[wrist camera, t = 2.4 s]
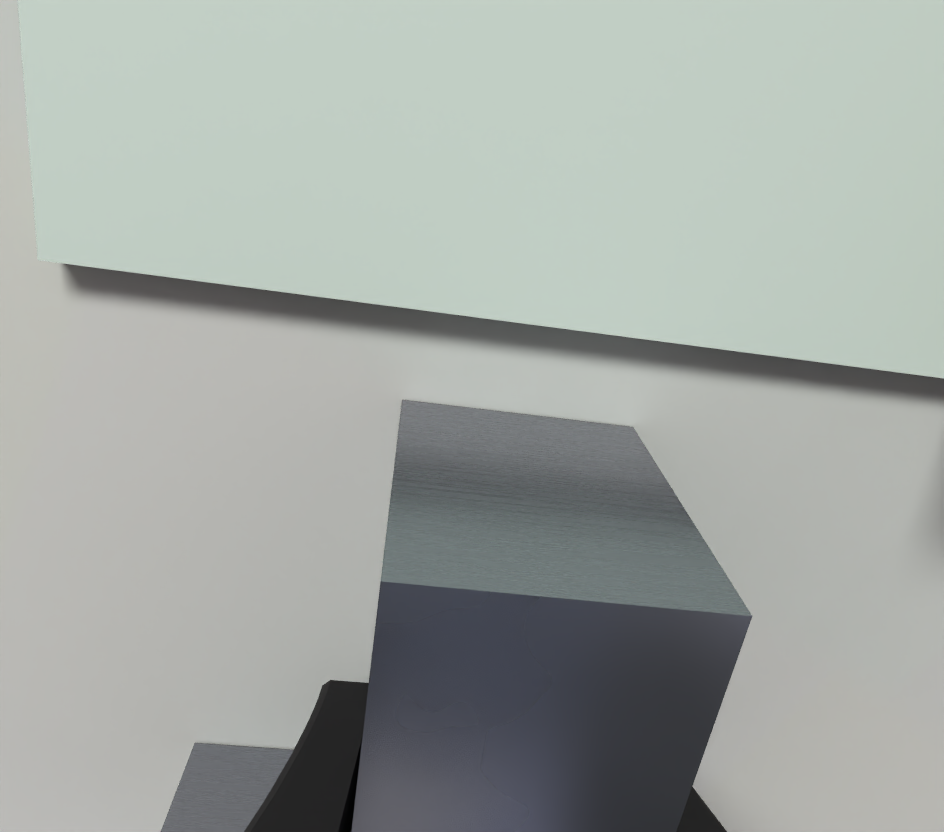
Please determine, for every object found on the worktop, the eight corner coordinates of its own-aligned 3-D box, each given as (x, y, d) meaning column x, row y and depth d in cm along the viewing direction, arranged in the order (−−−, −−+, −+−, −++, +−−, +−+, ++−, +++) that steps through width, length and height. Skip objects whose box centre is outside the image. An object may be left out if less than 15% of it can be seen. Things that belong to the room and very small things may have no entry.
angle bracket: (521, 877, 15) (554, 1175, 11) (194, 859, 14) (93, 1169, 10) (632, 426, 11) (751, 615, 7) (195, 376, 10) (36, 549, 6)
